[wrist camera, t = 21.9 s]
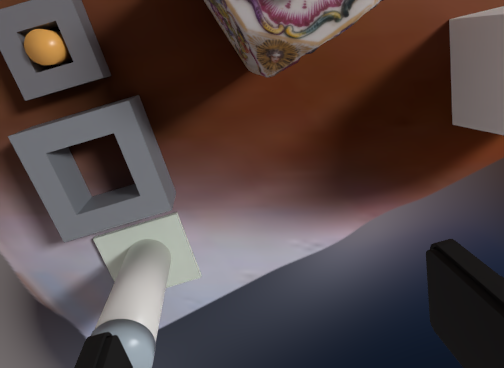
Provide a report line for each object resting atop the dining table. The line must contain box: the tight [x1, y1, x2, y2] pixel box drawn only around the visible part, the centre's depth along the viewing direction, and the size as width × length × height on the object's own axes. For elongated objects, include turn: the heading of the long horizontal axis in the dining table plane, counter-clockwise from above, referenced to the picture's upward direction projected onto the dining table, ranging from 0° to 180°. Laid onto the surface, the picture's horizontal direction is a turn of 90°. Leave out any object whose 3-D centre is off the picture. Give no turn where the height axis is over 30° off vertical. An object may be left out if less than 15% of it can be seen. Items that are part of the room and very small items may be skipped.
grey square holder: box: [8, 95, 176, 242], centre depth 38 cm, size 11×11×5 cm
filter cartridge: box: [91, 239, 171, 368], centre depth 36 cm, size 5×5×16 cm
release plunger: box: [24, 29, 72, 65], centre depth 34 cm, size 3×3×4 cm
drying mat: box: [93, 212, 201, 288], centre depth 44 cm, size 9×10×1 cm
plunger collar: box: [0, 0, 111, 101], centre depth 34 cm, size 8×8×3 cm
